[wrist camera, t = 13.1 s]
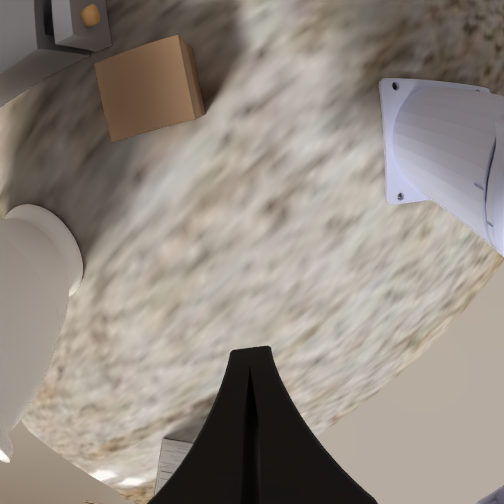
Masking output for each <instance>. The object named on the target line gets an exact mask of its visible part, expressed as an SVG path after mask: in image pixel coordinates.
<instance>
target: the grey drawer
mask: <svg viewBox="0 0 504 504" xmlns="http://www.w3.org/2000/svg"><path fill="white" fill-rule="evenodd" d="M51 1H52V16H51V17H50V19H49V21H48V22H47V24H46V25H45V26H44V27H45V34H46V35H51V36H55V44H58V45H64V46H70V47H76V48H81V49H86V50H91V51H96V52H98V51H100V50H103V49H105V48H107V47H110V46H112V41H111V35H110V29H109V22H108V15H107V8H106V0H51Z"/></svg>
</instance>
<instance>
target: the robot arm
mask: <svg viewBox="0 0 504 504" xmlns="http://www.w3.org/2000/svg"><path fill="white" fill-rule="evenodd" d="M393 82H394V83H395V84H396V86H397V88H396V90H394V89H393V88H392V84H393ZM379 94H380V103H381V113H382V125H383V140H384V160H385V198H386V201H387V202H388V203H390V204H392V205H395V204H402V203H409V202H417V201H424V200H432V201H434V202H435V203H437V204H438V205H439V206H441V207H442V208H444V209H445V210H446V211H448V212H449V213H450V214H452V215H453V216H454V217H456V218H457V219H458V220H460V221H461V222H462V223H463V224H465V225H466V226H467V227H469V228H470V229H471V230H472V231H474V232H475V233H476V234H477V235H478V236H480V237H481V238H482V239H483V240H485V241H486V242H487V243H488V244H489V245H490V246H492V247H493V248H494V249H495V250H496V251H498V252H499V253H500V254H501V255H502V256H503V257H504V96H502V95H497V94H491V93H490V91H489V89H488V88H485V87H480V86H474V85H467V84H460V83H452V82H443V81H433V80H421V79H403V78H383V79H381V80H380V81H379ZM399 193H401V194H402V195H401V197H400V198H397V197H398V194H399ZM147 504H378V503H377V502H376V500H375V499H374V498H373V497H372V496H371V495H370V494H369V493H367V492H366V491H365V490H364V489H363V488H362V487H361V486H359V485H358V484H357V483H356V482H355V481H354V480H353V479H352V478H351V477H350V476H349V475H348V474H347V473H346V472H345V471H344V470H343V469H342V468H341V467H340V466H339V464H338V463H337V462H336V461H335V460H334V459H333V458H332V456H331V455H330V454H329V453H328V452H327V451H326V450H325V449H324V447H323V446H322V445H321V443H320V442H319V441H318V439H317V438H316V437H315V435H314V434H313V433H312V431H311V430H310V429H309V427H308V426H307V424H306V423H305V421H304V420H303V418H302V417H301V415H300V413H299V412H298V410H297V408H296V407H295V405H294V403H293V402H292V400H291V398H290V396H289V394H288V392H287V390H286V388H285V386H284V384H283V382H282V380H281V378H280V376H279V373H278V371H277V368H276V366H275V363H274V360H273V356H272V351H271V347H269V346H260V347H253V348H245V349H237V350H232V351H231V352H230V357H229V361H228V365H227V368H226V372H225V375H224V378H223V381H222V384H221V386H220V389H219V392H218V394H217V397H216V399H215V402H214V404H213V407H212V409H211V411H210V413H209V415H208V417H207V420H206V422H205V424H204V426H203V428H202V430H201V431H200V433H199V435H198V437H197V439H196V440H195V442H194V444H193V446H192V447H191V449H190V450H189V452H188V453H187V455H186V456H185V458H184V459H183V461H182V462H181V464H180V465H179V467H178V468H177V469H176V471H175V472H174V473H173V475H172V476H171V477H170V478H169V480H168V481H167V482H166V483H165V484H164V486H163V487H162V488H161V489H160V490H159V492H158V493H157V494H156V495H155V496H154V497H153V498H152V499H151V500H150V501H149V502H148V503H147ZM476 504H504V485H503V486H502V487H500V488H499V489H497V490H496V491H494V492H493V493H491V494H489V495H488V496H486V497H485V498H483V499H481V500H480V501H478V502H477V503H476Z"/></svg>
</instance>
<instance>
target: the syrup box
mask: <svg viewBox="0 0 504 504" xmlns="http://www.w3.org/2000/svg"><path fill="white" fill-rule="evenodd" d="M193 444H194V443H188V442H181V441H175V440H169V439H162V445H161V451H160V457H159V464H158V471H157V478H156V485H155V492H154V496H155V495H156V494H157V493H158V492H159V490H160V489H161V488H162V487H163V486H164V484H165V483H166V482H167V481H168V480H169V478H170V477H171V476H172V475H173V473H174V472H175V471H176V469H177V468H178V467H179V465H180V464H181V462H182V461H183V459H184V458H185V456H186V455H187V453H188V452H189V450H190V449H191V447H192V446H193Z"/></svg>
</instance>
